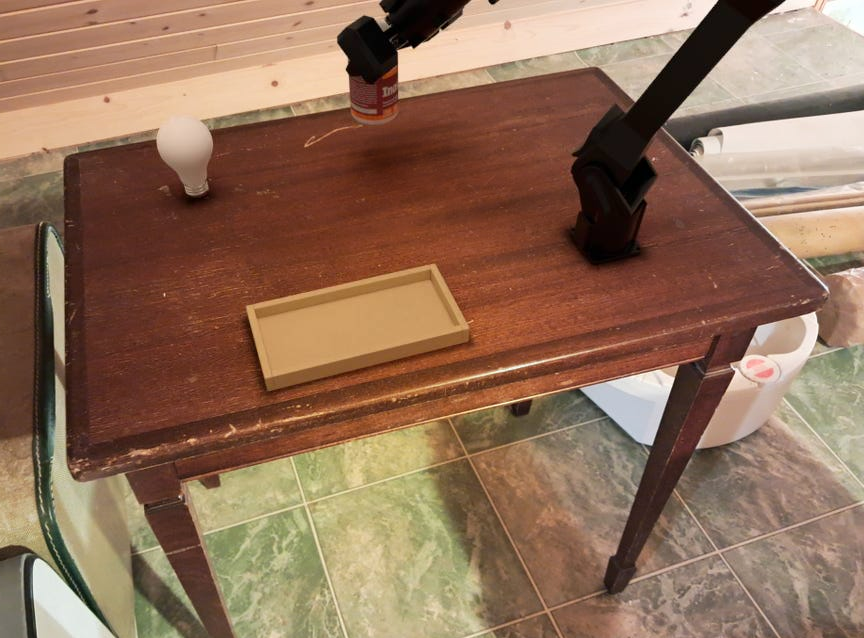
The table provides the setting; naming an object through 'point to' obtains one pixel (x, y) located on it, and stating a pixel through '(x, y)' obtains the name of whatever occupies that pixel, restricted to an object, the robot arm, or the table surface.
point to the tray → (355, 326)
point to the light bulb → (186, 151)
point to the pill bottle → (375, 96)
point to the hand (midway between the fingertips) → (363, 61)
